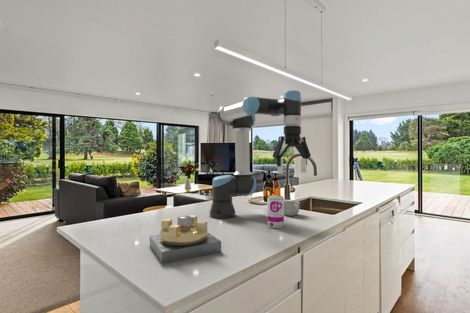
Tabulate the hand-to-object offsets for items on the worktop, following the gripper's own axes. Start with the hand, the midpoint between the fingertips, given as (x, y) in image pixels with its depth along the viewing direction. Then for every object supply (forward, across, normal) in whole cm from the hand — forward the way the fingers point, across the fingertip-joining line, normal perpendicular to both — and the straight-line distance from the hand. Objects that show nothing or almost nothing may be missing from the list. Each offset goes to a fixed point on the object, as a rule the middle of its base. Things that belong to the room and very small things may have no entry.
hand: (292, 173), depth 121 cm
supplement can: (+28, +2, +14) cm, 31 cm away
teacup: (+28, +24, +28) cm, 46 cm away
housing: (+28, -48, +7) cm, 56 cm away
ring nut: (+24, -48, +7) cm, 54 cm away
